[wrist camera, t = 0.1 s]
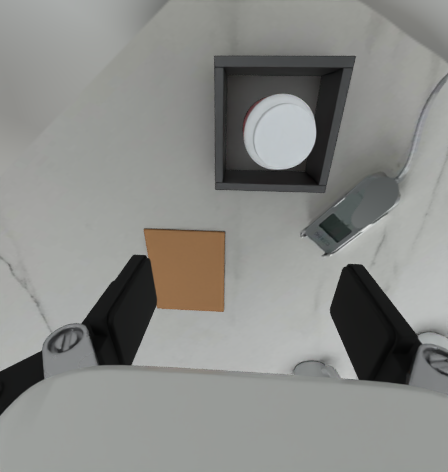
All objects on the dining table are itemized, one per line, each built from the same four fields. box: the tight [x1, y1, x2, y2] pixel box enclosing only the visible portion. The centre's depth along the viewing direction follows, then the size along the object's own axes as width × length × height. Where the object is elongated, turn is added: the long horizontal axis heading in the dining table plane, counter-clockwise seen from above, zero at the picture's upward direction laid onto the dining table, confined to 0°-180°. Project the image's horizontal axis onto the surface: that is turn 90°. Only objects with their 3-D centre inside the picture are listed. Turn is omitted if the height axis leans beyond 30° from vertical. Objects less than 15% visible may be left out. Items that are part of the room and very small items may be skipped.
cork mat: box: [144, 229, 225, 312], centre depth 38 cm, size 16×12×1 cm
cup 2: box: [418, 332, 448, 350], centre depth 40 cm, size 8×10×7 cm
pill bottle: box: [243, 94, 316, 170], centre depth 23 cm, size 6×6×11 cm
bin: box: [214, 56, 356, 193], centre depth 25 cm, size 12×12×6 cm
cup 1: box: [293, 361, 340, 378], centre depth 45 cm, size 7×10×9 cm
